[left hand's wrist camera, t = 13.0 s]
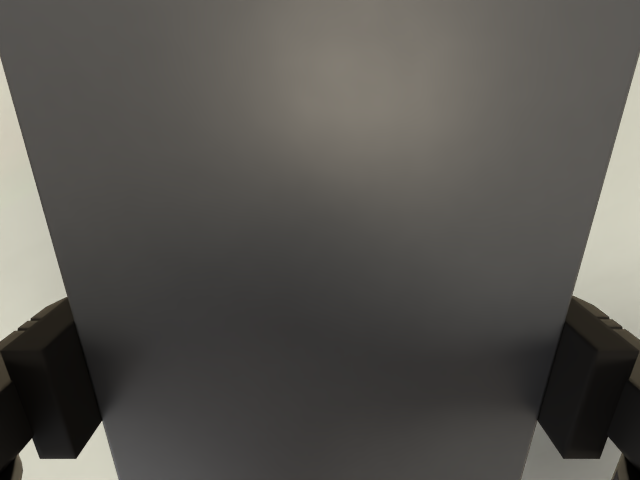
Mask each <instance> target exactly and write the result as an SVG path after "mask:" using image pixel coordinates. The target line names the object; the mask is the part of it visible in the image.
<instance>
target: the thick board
mask: <svg viewBox="0 0 640 480" xmlns="http://www.w3.org/2000/svg"><path fill="white" fill-rule="evenodd" d="M639 53H640V0H0V57H1V61H2V65H3V68H4V72H5V75H6V79H7V82H8V86H9V90H10V93H11V97H12V100H13V104H14V107H15V111H16V114H17V118H18V122H19V125H20V129H21V132H22V136H23V139H24V143H25V147H26V150H27V154H28V157H29V161H30V164H31V168H32V172H33V175H34V179H35V182H36V186H37V189H38V193H39V197H40V200H41V204H42V207H43V211H44V214H45V218H46V222H47V225H48V229H49V232H50V236H51V239H52V243H53V247H54V250H55V254H56V257H57V261H58V264H59V268H60V272H61V275H62V279H63V282H64V286H65V289H66V293H67V297H68V300H69V304H70V307H71V311H72V314H73V318H74V321H75V325H76V329H77V332H78V336H79V339H80V343H81V346H82V350H83V354H84V357H85V361H86V364H87V368H88V371H89V375H90V379H91V382H92V386H93V389H94V393H95V396H96V400H97V404H98V407H99V411H100V414H101V418H102V421H103V425H104V429H105V432H106V436H107V439H108V443H109V446H110V450H111V454H112V457H113V461H114V464H115V468H116V471H117V475H118V479H119V480H521V477H522V473H523V470H524V466H525V463H526V459H527V455H528V452H529V448H530V445H531V441H532V437H533V434H534V430H535V427H536V423H537V420H538V416H539V412H540V409H541V405H542V402H543V398H544V394H545V391H546V387H547V384H548V380H549V376H550V373H551V369H552V366H553V362H554V359H555V355H556V351H557V348H558V344H559V341H560V337H561V333H562V330H563V326H564V323H565V319H566V315H567V312H568V308H569V305H570V301H571V298H572V294H573V290H574V287H575V283H576V280H577V276H578V272H579V269H580V265H581V262H582V258H583V254H584V251H585V247H586V244H587V240H588V236H589V233H590V229H591V226H592V222H593V219H594V215H595V211H596V208H597V204H598V201H599V197H600V193H601V190H602V186H603V183H604V179H605V175H606V172H607V168H608V165H609V161H610V158H611V154H612V150H613V147H614V143H615V140H616V136H617V132H618V129H619V125H620V122H621V118H622V114H623V111H624V107H625V104H626V100H627V96H628V93H629V89H630V86H631V82H632V79H633V75H634V71H635V68H636V64H637V61H638V57H639Z"/></svg>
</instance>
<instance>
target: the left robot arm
mask: <svg viewBox="0 0 640 480" xmlns="http://www.w3.org/2000/svg"><path fill="white" fill-rule="evenodd" d="M101 421H102V418H101V414H100V411H99V407H98V404H97V400H96V396H95V393H94V389H93V386H92V382H91V379H90V375H89V371H88V368H87V364H86V361H85V357H84V354H83V350H82V346H81V343H80V339H79V336H78V332H77V329H76V325H75V321H74V318H73V314H72V311H71V307H70V304H69V300H68V297H66V298H64V299H62V300H60V301H57V302H55V303H53V304H51V305H49V306H47V307H45V308H44V309H43V310H41V311H40V312H39V313H37V314H36V315H35V316H33V317H32V318H31V321H27V322H26V323H24V324H23V325H22V326H20V327H19V328H18V331H14V332H12V333H11V334H10V335H8V336H7V337H6V338H4V339H3V340H2V341H0V480H21V479H22V473H23V468H22V462H21V459H20V457H19V453H20V451H21V450H22V449H23V448H24V447H25V446H26V444H27V443H28V442H29V441H30V440H31V439H33V442H34V444H35V447H36V450H37V452H38V455H39V458H40V459H76V458H77V457H78V455H79V454H80V452H81V451H82V449H83V448H84V446H85V445H86V443H87V442H88V440H89V439H90V438H91V436H92V435H93V433H94V432H95V430H96V429H97V427H98V426H99V424H100V423H101ZM538 422H539V423H540V425H541V426H542V428H543V429H544V431H545V432H546V434H547V435H548V437H549V438H550V439H551V441H552V442H553V444H554V445H555V447H556V448H557V450H558V451H559V453H560V454H561V456H562V457H563V459H600V457H601V454H602V451H603V449H604V446H605V443H606V440H607V438H608V437H609V438H610V439H611V440H612V441H613V443H614V444H615V445H616V446H617V447H618V448H619V450H620V451H621V452H622V454H621V457H620V459H619V462H618V464H617V467H616V469H615V472H614V474H613V477H612V479H611V480H640V340H639V339H638V338H636V337H635V336H634V335H632V334H631V333H630V332H628V331H627V330H626V329H622V326H621V325H619V324H618V323H617V322H615V321H614V320H613V319H609V316H607V315H606V314H605V313H603V312H602V311H601V310H599V309H598V308H597V307H595V306H594V305H592V304H590V303H588V302H585V301H583V300H581V299H579V298H577V297H575V296H572V298H571V301H570V305H569V308H568V312H567V315H566V319H565V323H564V326H563V330H562V333H561V337H560V341H559V344H558V348H557V351H556V355H555V359H554V362H553V366H552V369H551V373H550V376H549V380H548V384H547V387H546V391H545V394H544V398H543V402H542V405H541V409H540V412H539V416H538Z"/></svg>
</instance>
